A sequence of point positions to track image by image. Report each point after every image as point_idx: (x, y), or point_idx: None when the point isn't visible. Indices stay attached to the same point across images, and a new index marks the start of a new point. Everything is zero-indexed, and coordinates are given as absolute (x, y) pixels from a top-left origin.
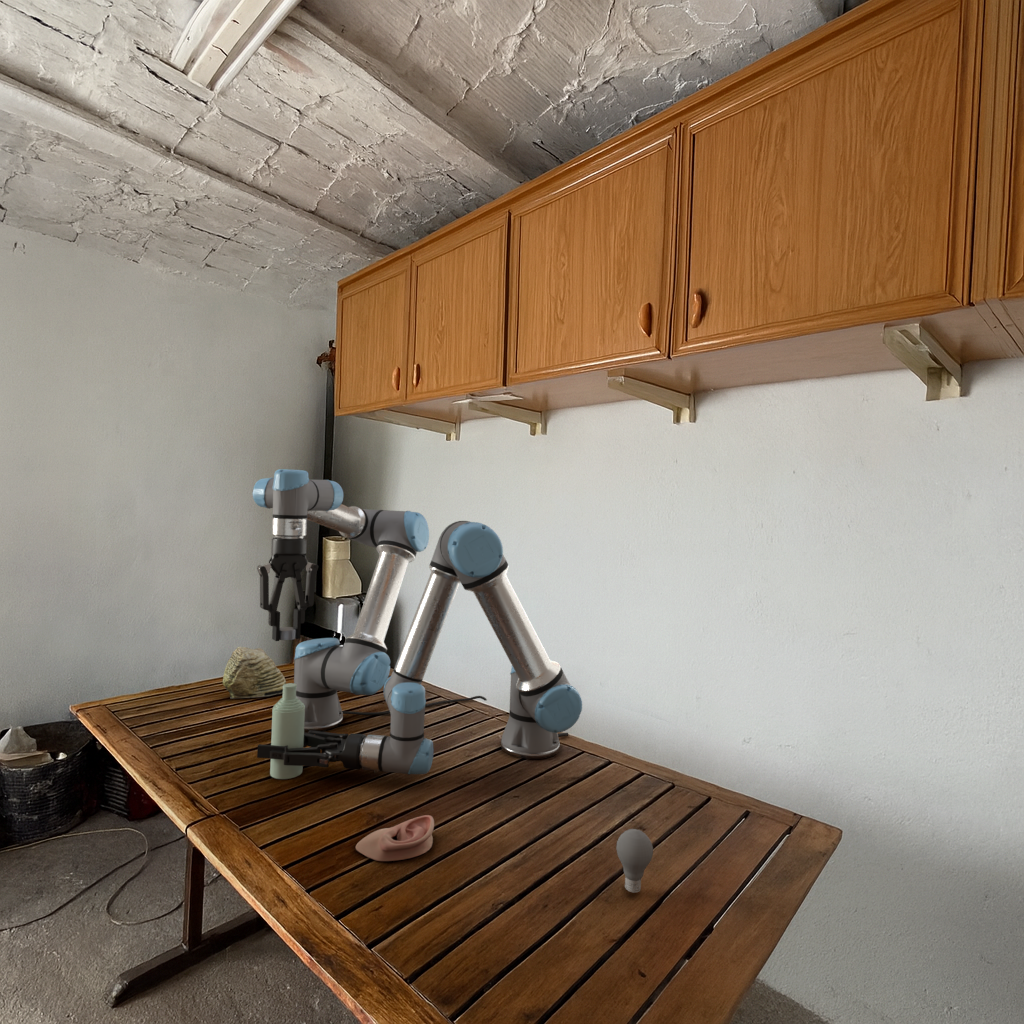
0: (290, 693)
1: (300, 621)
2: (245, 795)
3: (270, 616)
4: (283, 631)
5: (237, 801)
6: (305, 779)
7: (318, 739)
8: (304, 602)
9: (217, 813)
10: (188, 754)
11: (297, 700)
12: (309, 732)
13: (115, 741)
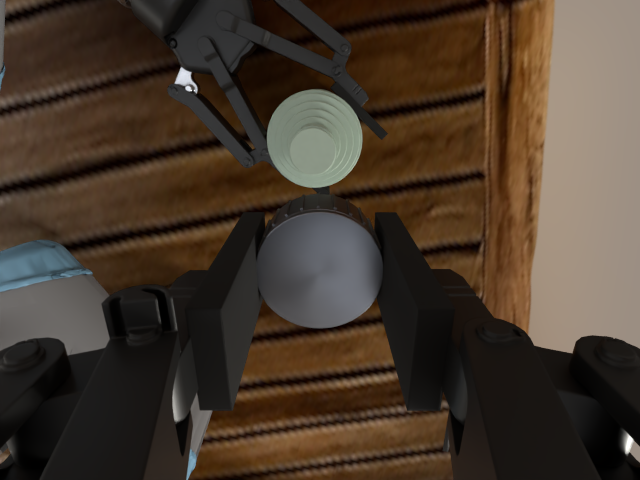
0: (316, 125)
1: (218, 257)
2: (420, 58)
3: (489, 312)
4: (360, 223)
5: (442, 39)
6: (294, 66)
7: (245, 103)
8: (99, 374)
9: (492, 5)
10: None
11: (289, 132)
12: (252, 157)
13: None
